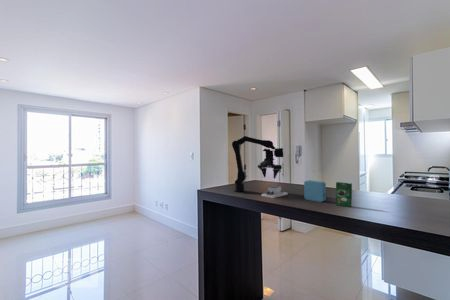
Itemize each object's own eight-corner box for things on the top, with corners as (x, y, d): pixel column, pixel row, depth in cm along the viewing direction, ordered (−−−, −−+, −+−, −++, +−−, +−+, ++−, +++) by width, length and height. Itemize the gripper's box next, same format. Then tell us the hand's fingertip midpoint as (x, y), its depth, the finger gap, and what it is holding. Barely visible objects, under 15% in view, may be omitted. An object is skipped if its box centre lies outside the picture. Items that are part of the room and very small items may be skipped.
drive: (267, 194, 155) (267, 187, 155) (274, 192, 163) (274, 185, 163) (274, 195, 152) (274, 188, 152) (281, 192, 160) (280, 186, 160)
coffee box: (352, 206, 125) (352, 182, 125) (351, 207, 122) (351, 183, 122) (336, 204, 129) (336, 181, 129) (335, 205, 127) (335, 182, 127)
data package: (326, 201, 138) (325, 181, 138) (322, 202, 135) (322, 182, 135) (307, 198, 147) (307, 180, 147) (304, 199, 144) (303, 180, 144)
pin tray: (261, 195, 156) (261, 191, 156) (276, 192, 167) (275, 188, 167) (273, 198, 148) (273, 193, 148) (287, 194, 159) (287, 189, 159)
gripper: (252, 157, 170) (253, 177, 170) (272, 157, 156) (272, 180, 156) (262, 156, 178) (262, 176, 178) (282, 157, 163) (282, 178, 163)
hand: (269, 177), depth 169 cm, fingers open, 9 cm apart
